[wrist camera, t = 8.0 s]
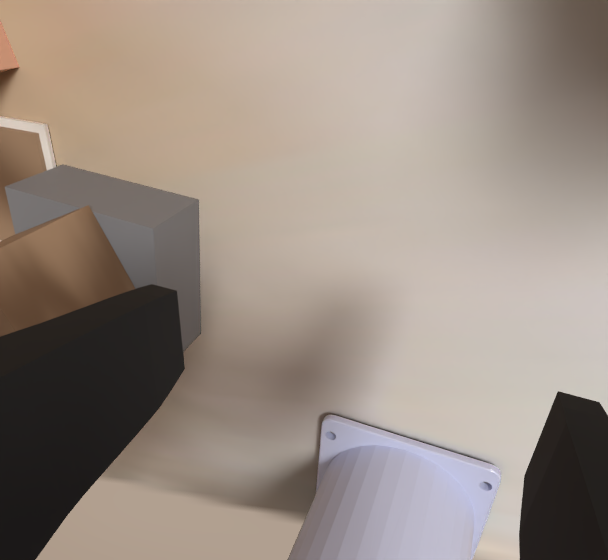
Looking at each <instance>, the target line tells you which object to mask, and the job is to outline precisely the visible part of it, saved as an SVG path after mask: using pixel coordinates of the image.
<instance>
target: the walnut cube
mask: <svg viewBox="0 0 608 560" xmlns="http://www.w3.org/2000/svg"><path fill="white" fill-rule="evenodd" d="M133 289H135V287H134V285H133V283H132V281H131V280H130V278H129V276H128V274H127V273H126V271H125V269H124V267H123V265H122V264H121V262H120V260H119V258H118V257H117V255H116V253H115V251H114V249H113V248H112V246H111V244H110V242H109V241H108V239H107V237H106V235H105V233H104V232H103V230H102V228H101V226H100V225H99V223H98V221H97V219H96V217H95V216H94V214H93V212H92V210H91V208H90V207H89V205H87V206H85V207H82V208H80V209H77V210H75V211H72V212H70V213H67V214H65V215H62V216H60V217H57V218H55V219H52V220H50V221H47V222H45V223H43V224H40V225H38V226H35V227H33V228H30V229H28V230H25V231H23V232H20V233H18V234H15V235H13V236H11V237H8V238H6V239H4V240H2V241H0V336H3V335H6V334H9V333H12V332H15V331H18V330H21V329H24V328H27V327H30V326H33V325H36V324H39V323H42V322H45V321H48V320H51V319H53V318H56V317H59V316H61V315H64V314H67V313H70V312H72V311H75V310H78V309H80V308H83V307H86V306H89V305H91V304H94V303H97V302H99V301H102V300H105V299H108V298H110V297H113V296H116V295H119V294H122V293H124V292H127V291H130V290H133Z"/></svg>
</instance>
